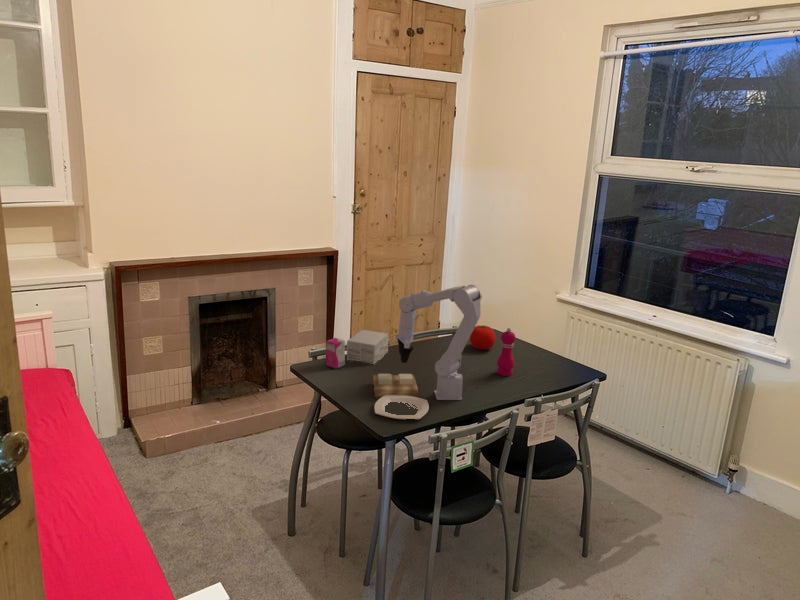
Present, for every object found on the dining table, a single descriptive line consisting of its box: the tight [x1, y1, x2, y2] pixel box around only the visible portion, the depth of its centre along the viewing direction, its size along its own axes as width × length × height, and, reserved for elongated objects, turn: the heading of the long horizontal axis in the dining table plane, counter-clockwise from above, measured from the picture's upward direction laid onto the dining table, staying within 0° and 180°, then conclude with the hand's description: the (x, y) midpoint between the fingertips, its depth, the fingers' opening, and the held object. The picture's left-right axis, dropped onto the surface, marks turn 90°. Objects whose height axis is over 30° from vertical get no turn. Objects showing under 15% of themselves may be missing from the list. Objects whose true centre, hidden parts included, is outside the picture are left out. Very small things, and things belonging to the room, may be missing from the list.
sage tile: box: [377, 373, 392, 385], centre depth 228 cm, size 5×5×2 cm
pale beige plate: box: [373, 395, 430, 420], centre depth 213 cm, size 19×19×2 cm
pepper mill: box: [496, 327, 517, 377], centre depth 249 cm, size 7×7×20 cm
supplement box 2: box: [346, 329, 389, 365], centre depth 263 cm, size 17×13×9 cm
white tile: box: [398, 373, 413, 385], centre depth 228 cm, size 5×5×2 cm
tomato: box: [469, 325, 496, 350], centre depth 279 cm, size 12×13×11 cm
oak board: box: [372, 374, 419, 398], centre depth 229 cm, size 16×14×4 cm
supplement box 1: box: [325, 337, 346, 370], centre depth 250 cm, size 6×6×12 cm
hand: (403, 358), depth 234 cm, fingers open, 7 cm apart
